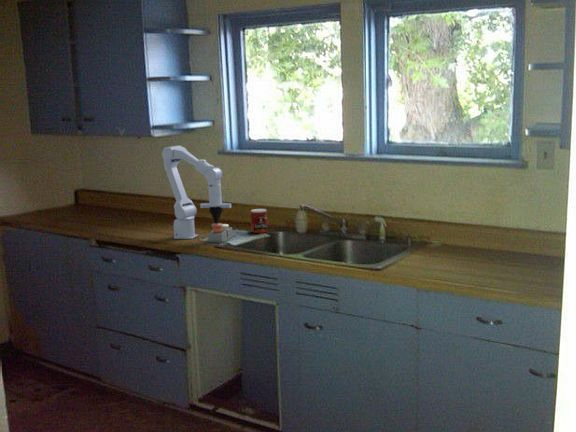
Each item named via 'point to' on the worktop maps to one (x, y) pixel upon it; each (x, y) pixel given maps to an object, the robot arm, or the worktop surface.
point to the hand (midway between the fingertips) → (216, 223)
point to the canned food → (259, 220)
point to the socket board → (221, 236)
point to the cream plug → (225, 226)
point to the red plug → (217, 228)
